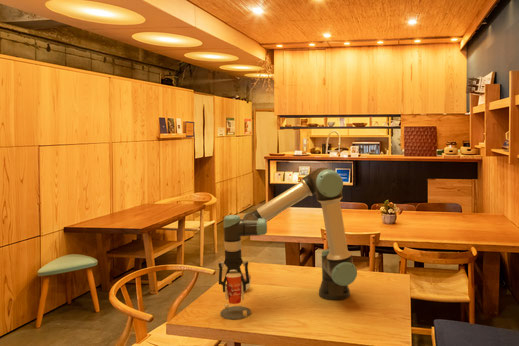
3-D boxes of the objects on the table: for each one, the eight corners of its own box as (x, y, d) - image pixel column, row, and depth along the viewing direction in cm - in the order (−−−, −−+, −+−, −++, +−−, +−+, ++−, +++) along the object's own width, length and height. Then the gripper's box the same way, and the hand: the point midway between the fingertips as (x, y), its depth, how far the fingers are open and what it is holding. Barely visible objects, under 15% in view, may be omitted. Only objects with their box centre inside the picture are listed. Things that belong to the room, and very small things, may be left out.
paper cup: (228, 305, 228) (227, 275, 226) (224, 299, 235) (223, 270, 234) (245, 303, 230) (244, 273, 229) (241, 297, 237) (240, 268, 236)
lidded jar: (252, 287, 269) (251, 270, 268) (250, 294, 258) (249, 276, 257) (232, 287, 270) (231, 270, 269) (229, 294, 259) (228, 276, 258)
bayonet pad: (251, 307, 240) (251, 301, 240) (250, 319, 226) (250, 312, 226) (221, 308, 240) (221, 302, 240) (219, 320, 226) (218, 314, 226)
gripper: (254, 246, 234) (256, 295, 236) (212, 248, 234) (214, 296, 236) (254, 251, 226) (256, 301, 229) (210, 252, 226) (212, 302, 229)
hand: (234, 298), depth 233 cm, fingers closed on paper cup, 7 cm apart
